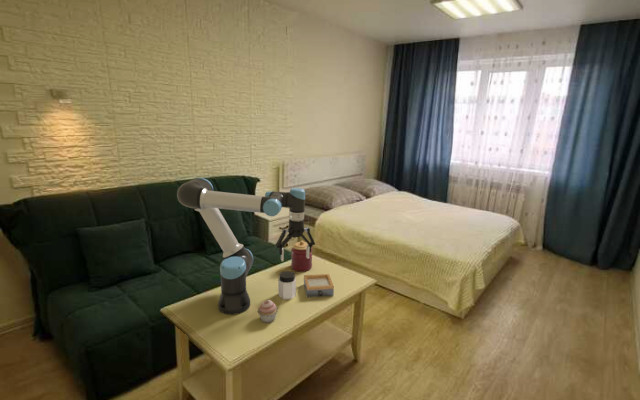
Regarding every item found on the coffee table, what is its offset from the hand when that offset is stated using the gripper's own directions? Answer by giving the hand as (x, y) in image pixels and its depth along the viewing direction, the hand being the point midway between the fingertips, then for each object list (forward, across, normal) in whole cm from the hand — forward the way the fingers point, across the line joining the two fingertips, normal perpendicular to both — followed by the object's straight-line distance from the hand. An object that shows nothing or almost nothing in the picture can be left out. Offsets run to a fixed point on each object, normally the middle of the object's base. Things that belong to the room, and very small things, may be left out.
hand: (294, 259), depth 170 cm
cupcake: (+20, -18, -18) cm, 33 cm away
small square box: (+19, +14, 0) cm, 24 cm away
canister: (+20, +14, +29) cm, 38 cm away
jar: (+20, -4, -1) cm, 20 cm away
